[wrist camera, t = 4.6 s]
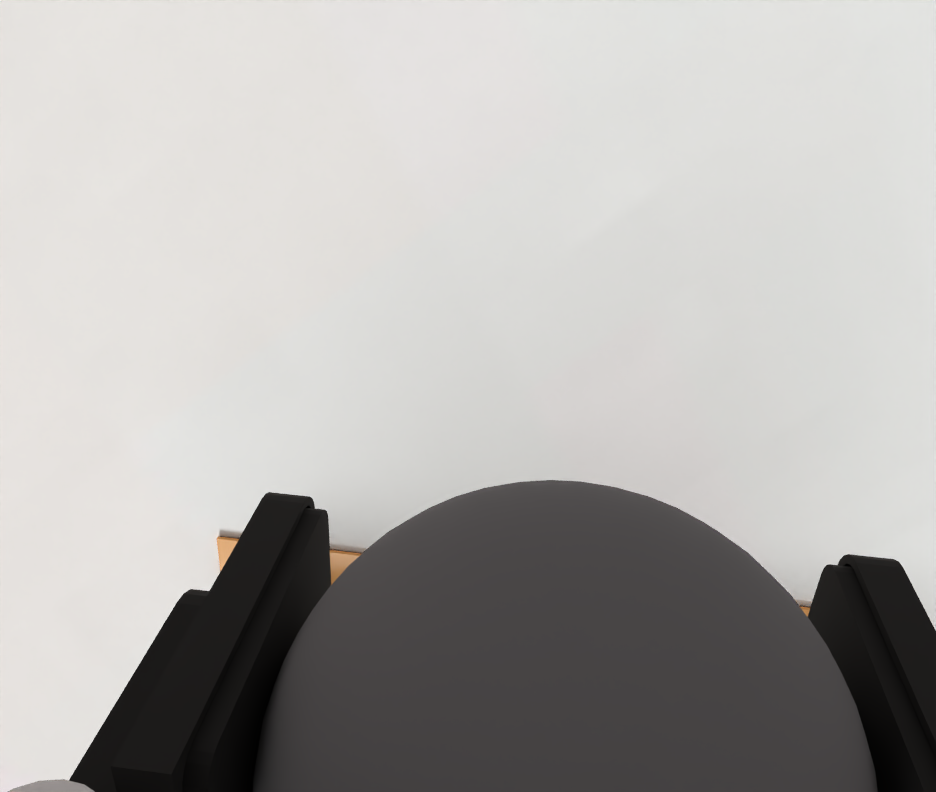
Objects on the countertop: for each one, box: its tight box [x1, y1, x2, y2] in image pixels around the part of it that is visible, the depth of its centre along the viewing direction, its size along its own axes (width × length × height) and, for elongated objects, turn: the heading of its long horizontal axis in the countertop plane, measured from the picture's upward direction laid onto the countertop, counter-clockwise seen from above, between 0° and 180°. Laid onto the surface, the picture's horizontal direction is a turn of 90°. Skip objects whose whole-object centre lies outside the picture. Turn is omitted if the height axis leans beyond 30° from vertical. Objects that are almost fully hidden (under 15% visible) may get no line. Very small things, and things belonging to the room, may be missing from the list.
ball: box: [253, 480, 878, 792], centre depth 8 cm, size 6×6×6 cm
